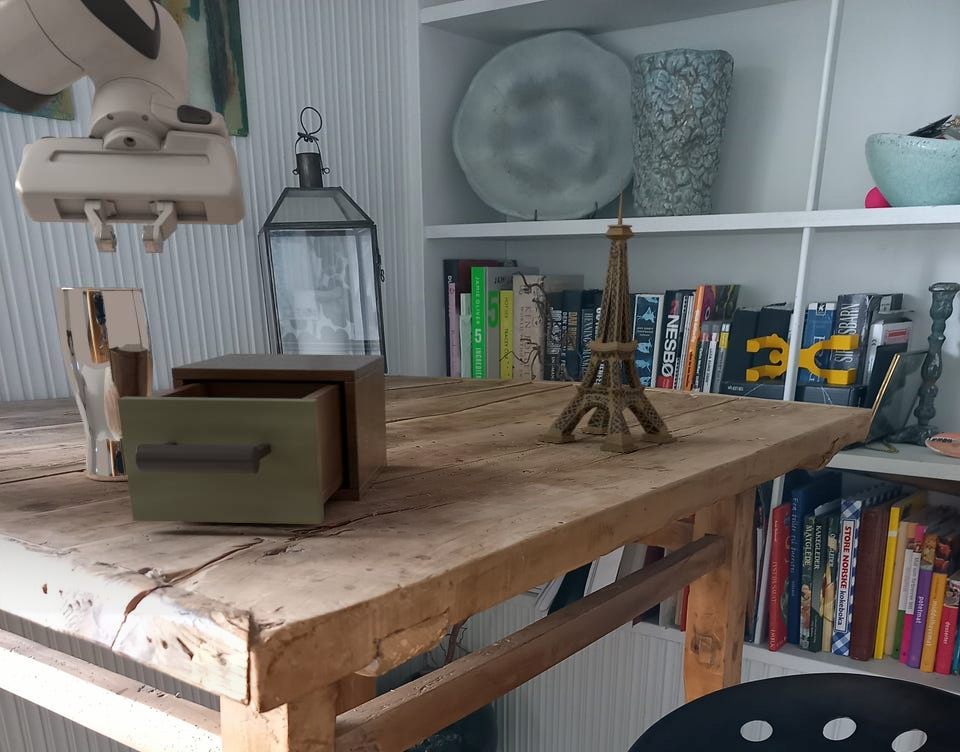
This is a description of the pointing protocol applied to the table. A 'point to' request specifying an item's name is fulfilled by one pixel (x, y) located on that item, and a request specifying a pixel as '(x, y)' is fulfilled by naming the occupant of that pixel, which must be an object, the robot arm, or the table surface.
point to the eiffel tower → (612, 366)
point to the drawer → (235, 451)
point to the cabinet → (353, 370)
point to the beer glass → (105, 365)
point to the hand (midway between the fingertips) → (128, 247)
